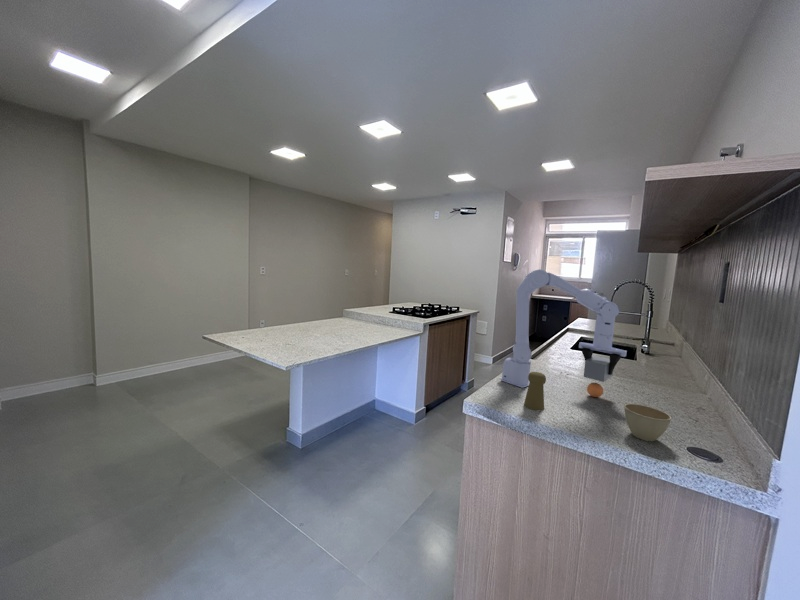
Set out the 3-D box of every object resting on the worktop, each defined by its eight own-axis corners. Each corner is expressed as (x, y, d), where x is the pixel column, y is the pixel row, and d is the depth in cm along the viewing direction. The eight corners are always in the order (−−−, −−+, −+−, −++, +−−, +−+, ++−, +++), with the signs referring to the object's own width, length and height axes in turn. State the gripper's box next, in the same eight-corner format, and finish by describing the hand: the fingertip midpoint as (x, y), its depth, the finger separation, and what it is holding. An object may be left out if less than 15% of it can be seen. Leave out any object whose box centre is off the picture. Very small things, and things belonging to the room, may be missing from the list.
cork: (547, 408, 102) (551, 374, 101) (538, 412, 98) (542, 377, 97) (530, 401, 107) (533, 368, 106) (520, 405, 103) (523, 371, 102)
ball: (589, 378, 117) (591, 388, 119) (583, 386, 115) (585, 397, 117) (604, 382, 113) (606, 393, 115) (598, 391, 111) (600, 402, 113)
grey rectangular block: (583, 376, 114) (585, 360, 114) (593, 371, 122) (595, 355, 121) (603, 382, 110) (605, 364, 109) (612, 375, 117) (614, 359, 116)
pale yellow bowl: (668, 451, 80) (672, 423, 79) (620, 436, 86) (623, 410, 85) (666, 436, 88) (670, 411, 87) (622, 424, 94) (625, 400, 93)
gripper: (577, 331, 117) (573, 367, 118) (624, 339, 107) (619, 379, 108) (584, 330, 122) (580, 365, 123) (630, 337, 111) (625, 375, 112)
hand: (598, 371), depth 116 cm, fingers closed on grey rectangular block, 6 cm apart
